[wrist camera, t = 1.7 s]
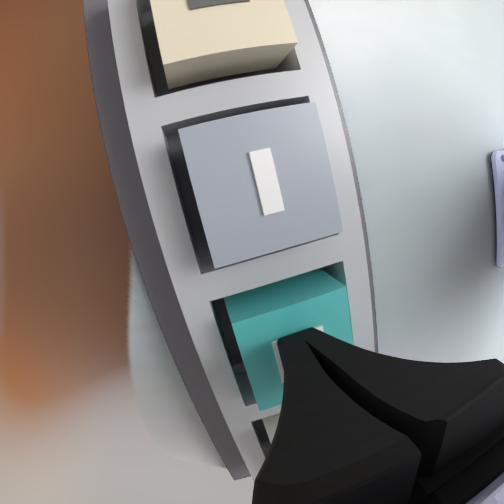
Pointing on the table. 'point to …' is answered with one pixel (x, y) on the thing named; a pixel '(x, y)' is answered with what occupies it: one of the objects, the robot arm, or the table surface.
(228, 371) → the keypad board
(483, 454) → the robot arm
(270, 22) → the block
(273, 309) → the key teal
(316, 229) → the key slate
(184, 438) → the table surface
